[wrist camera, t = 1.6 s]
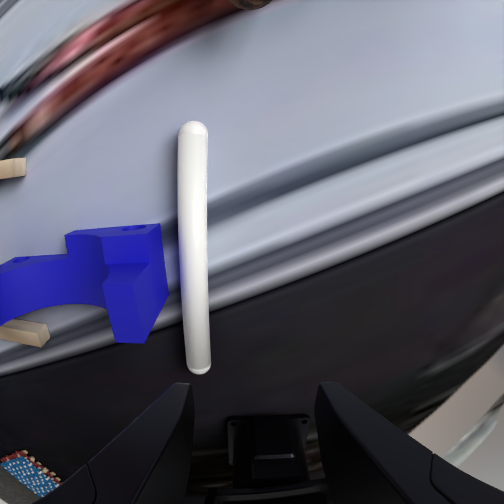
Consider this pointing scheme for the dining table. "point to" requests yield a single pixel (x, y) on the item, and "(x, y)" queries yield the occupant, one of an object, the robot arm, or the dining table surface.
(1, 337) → the frame
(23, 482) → the woven mat
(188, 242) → the white peg
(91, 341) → the dining table surface
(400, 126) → the dining table surface
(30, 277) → the cable clip
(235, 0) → the pottery mug
